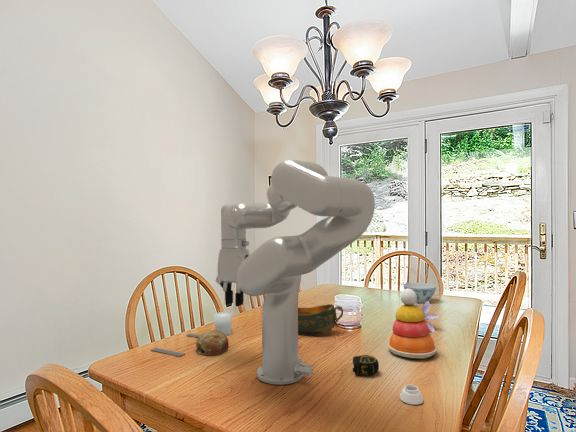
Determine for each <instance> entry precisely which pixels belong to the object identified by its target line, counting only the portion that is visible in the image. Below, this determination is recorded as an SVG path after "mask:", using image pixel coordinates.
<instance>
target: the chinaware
mask: <svg viewBox="0 0 576 432" xmlns="http://www.w3.org/2000/svg"><path fill="white" fill-rule="evenodd" d="M403 289H404V290H405V289H412V290H413V291H414V292H415V293H416V296H417V301H416V303H417V304H418V303H419V304H425V302H427V301H429V299H431V298H432V297H433V296H434V295H435V293H436V289H437V285H435V284H432V283H427V282H405V283H403Z"/></svg>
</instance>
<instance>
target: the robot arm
mask: <svg viewBox="0 0 576 432" xmlns="http://www.w3.org/2000/svg"><path fill="white" fill-rule="evenodd" d="M266 196H267V198H266V199H267V201H268V202H265V203H264V202H237V203H234V204H229V203H228V204H224V205H221V206H222V207H221V208H220V231H221V233H220V237H221V238H220V240H221V242H220V245H221V246H220V249H219V253H218V257H217V276H216V279H215V283H216V284H218V285H220V287H221V288H222V290H223V293H224V301H225V303H224V304H225V306H229V305H231V304H233V303H234V302H235V307H241V306H242V305H244V301H245V300H244V295H247V296H249V297H259V296H265V297H264V299H263V302H262V307H261V308H262V309H261V334H262V335H261V337H262V338H261V339H262V342H261V343H262V344H261V347H262V349H261V350H262V351H261V352H262V354H261V356H262V358H261V359H262V363H261V365H259V367H258V368H257V369H256V377H257V379H258V380H259V381H261V382H263V383H266V384H269V385H274V386H275V385H277V386H279V385H280V386H281V385H282V386H283V385H289V384H294V383H296V382H299V381H301V380H302V379H303V378H304V377H305V376H310V377H311V376H312V375H313V374H312V373H313V368H312V364H310V363H304V361H303V356H299V334H298V308H299V293H300V286H301V282H302V275H307V274H309V273H312V272H314V271H315V270H316V269H318V268H319V267H320V266H321V265H323V264H325V263H326V262H328V261H329V260H330V259H332V258H333V257H335V256H336V255H337V254H339V253H340V252H341V251H342V250H344V249H346V248H347V247H349V246H350V245H352V244H353V243H354V242H355V241H357V240H358V239H359V238H361V236H362V235H363V234H364V233H365V232H366V231H367V229H368V228H369V227H370V225H371V223H372V221H373V218H374V214H375V207H376V200H375V194H374V193H373V190H372V189H371V188H370V186H369V185H368V184H366V183H365V182H363V181H360V180H358V179H355V178H349V177H339V176H330V175H328V172H327V171H326V168H324V167H323V166H322V165H320V164H318V163H315V162H311V161H305V160H299V159H298V160H297V159H284V160H282V161H280V162H278V164H276V166H274V168H273V170H272V172H271V177H270V185H269V186H268V188H267V190H266ZM297 207H298V208H300V209H302V210H304V211H305V212H307V213H309V214H311V215H313V216H319V217H325V218H323V219H321V220H320V221H317V222H316V223H315V224H314V225H313V226H311V227H310V228H309V229H308V230H306V231H305V232H303V233H301V234H295V235H286V236H276V237H273V238H270V239H267V240H266V241H265V242H263V243H262V244H261V245H260V246H258V247H257V248H256V249H255V250H254V251H253V252H252V253H250V250H249V248H247V246H249V245H250V241H249V240H248V241H247V230H248V229H249V230H251V229H268V228H270V227H273V226H275V225H278V224H280V223H281V222H283V221H285V220H286V219H287V218H288V217H289V215H290V213H291V211H292V210H294V209H295V208H297ZM233 283H235V284H236V285H235V286H236V292H235V293H234V290H233V289H232V288H233V287H232V284H233ZM234 295H235V297H234ZM234 298H235V299H234ZM234 300H235V301H234Z"/></svg>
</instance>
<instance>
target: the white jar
mask: <svg viewBox="0 0 576 432" xmlns="http://www.w3.org/2000/svg"><path fill="white" fill-rule="evenodd" d="M399 399H400V400H401V402H403V403H405V404H408V405H414V406H415V405H421V404H423V402H424V397H423V396H422V392H421V391H420V390H419V387H418V386H416V385H414V384H405V385H404V387H403V388H402V390H401V392H400V394H399Z"/></svg>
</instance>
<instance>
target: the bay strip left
mask: <svg viewBox="0 0 576 432" xmlns="http://www.w3.org/2000/svg"><path fill="white" fill-rule="evenodd" d="M150 351H151V352H155V353H160V354H164V355H168V356H172V357H173V356H175V357H178V358H181V357H183V356H185V353H182V352H178V351H173V350H168V349H164V348H163V349H162V348H159V347H154V348H153V349H150Z"/></svg>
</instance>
